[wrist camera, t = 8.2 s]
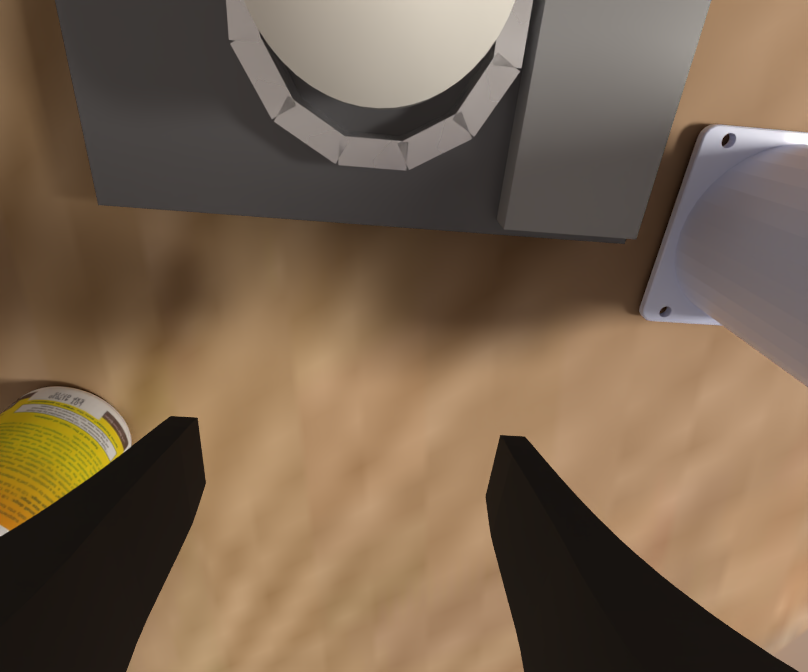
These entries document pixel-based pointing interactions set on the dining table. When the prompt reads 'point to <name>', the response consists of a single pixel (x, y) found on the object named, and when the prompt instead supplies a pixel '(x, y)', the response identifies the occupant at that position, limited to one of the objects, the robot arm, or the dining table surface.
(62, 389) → the supplement bottle
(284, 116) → the mount ring
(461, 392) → the dining table surface
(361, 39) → the lens
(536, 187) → the camera body
